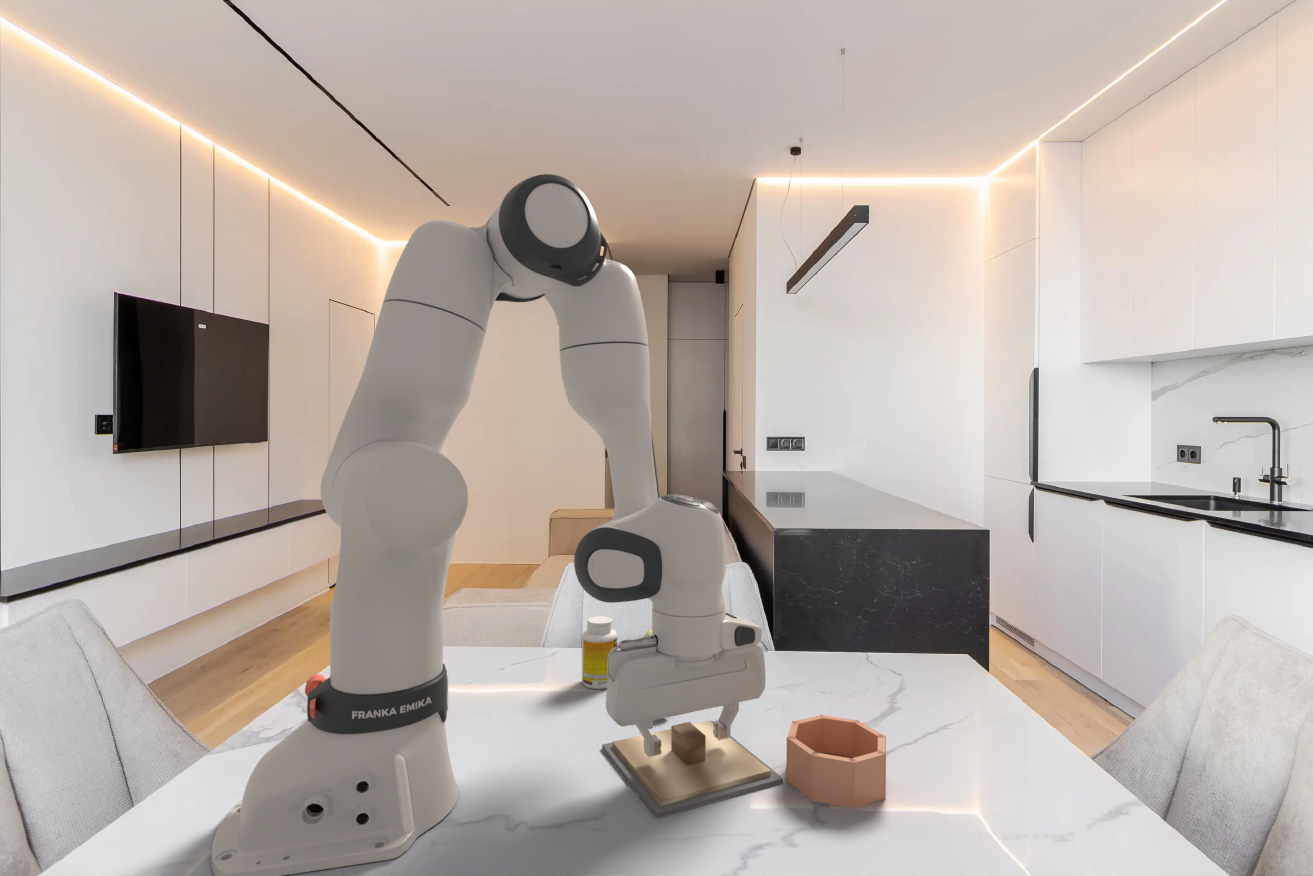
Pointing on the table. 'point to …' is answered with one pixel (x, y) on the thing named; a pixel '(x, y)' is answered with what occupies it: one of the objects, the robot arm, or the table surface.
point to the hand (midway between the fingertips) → (688, 745)
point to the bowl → (837, 761)
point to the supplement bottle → (597, 651)
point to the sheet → (691, 776)
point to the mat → (690, 802)
